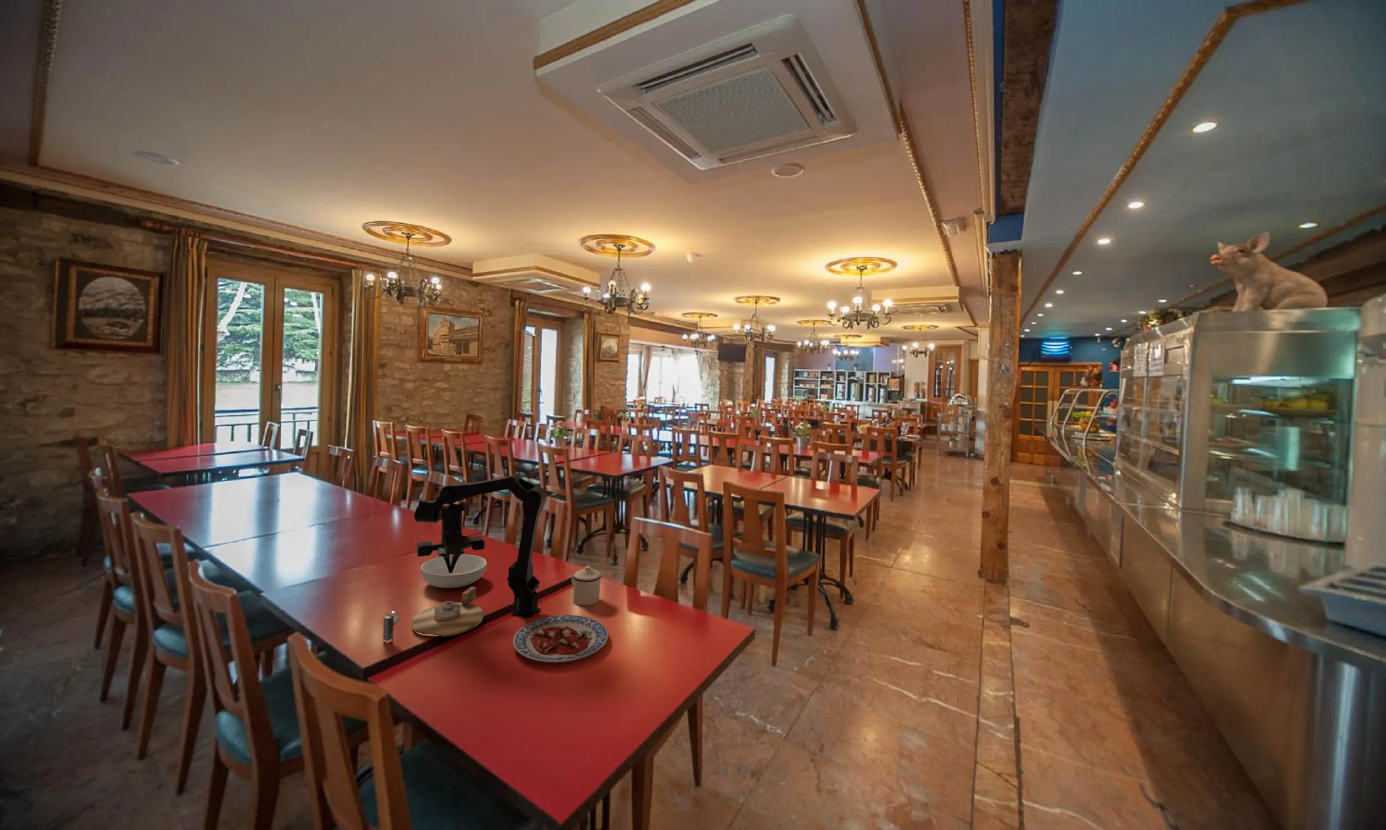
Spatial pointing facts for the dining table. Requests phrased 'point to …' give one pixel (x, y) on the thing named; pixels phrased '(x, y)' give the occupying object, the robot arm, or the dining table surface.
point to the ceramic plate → (560, 638)
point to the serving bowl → (463, 572)
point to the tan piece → (465, 622)
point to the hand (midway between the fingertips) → (450, 572)
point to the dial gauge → (390, 625)
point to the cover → (447, 612)
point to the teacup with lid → (586, 586)
